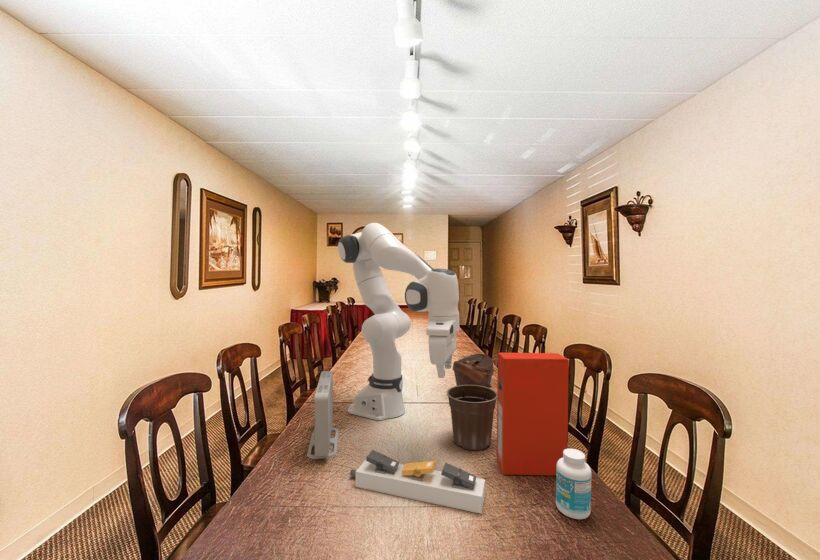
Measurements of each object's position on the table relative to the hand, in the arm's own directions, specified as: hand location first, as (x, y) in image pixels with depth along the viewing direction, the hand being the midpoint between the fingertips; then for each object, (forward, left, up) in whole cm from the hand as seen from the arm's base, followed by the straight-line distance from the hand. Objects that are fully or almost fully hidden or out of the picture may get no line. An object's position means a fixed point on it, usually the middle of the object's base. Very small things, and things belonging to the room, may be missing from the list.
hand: (444, 372), depth 102 cm
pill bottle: (+33, -11, -27) cm, 44 cm away
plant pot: (+6, +15, -27) cm, 31 cm away
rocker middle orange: (-3, -15, -21) cm, 26 cm away
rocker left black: (-13, -15, -21) cm, 29 cm away
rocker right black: (+7, -15, -21) cm, 26 cm away
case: (+1, +55, -27) cm, 61 cm away
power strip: (-5, -15, -26) cm, 31 cm away
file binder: (+24, +5, -27) cm, 36 cm away
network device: (-39, -1, -27) cm, 47 cm away
